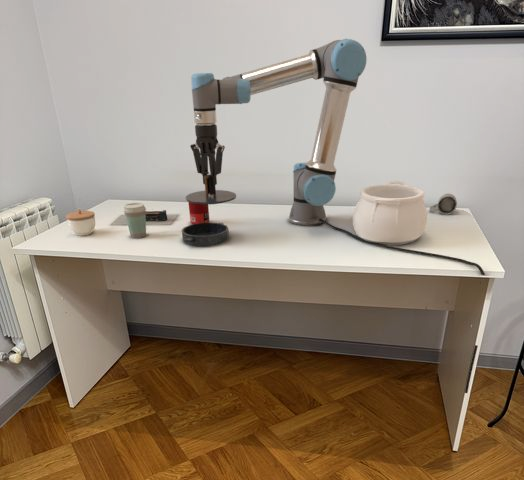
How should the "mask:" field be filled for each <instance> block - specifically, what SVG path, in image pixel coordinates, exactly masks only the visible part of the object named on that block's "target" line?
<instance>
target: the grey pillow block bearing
mask: <svg viewBox="0 0 524 480" xmlns="http://www.w3.org/2000/svg"><path fill="white" fill-rule="evenodd" d="M457 207H458V201H457V198H456V196H455V195H454V194H453V193H444V194H442V195H441V196H440V197H439V199H438V202H437V203H436V204H433V205H432V206H429V212H431V213H432V212H433V213H434V212H437V211H438V212H439V213H440V214H441V215H451V214H453V213H454V212H455V211H456V210H457Z"/></svg>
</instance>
